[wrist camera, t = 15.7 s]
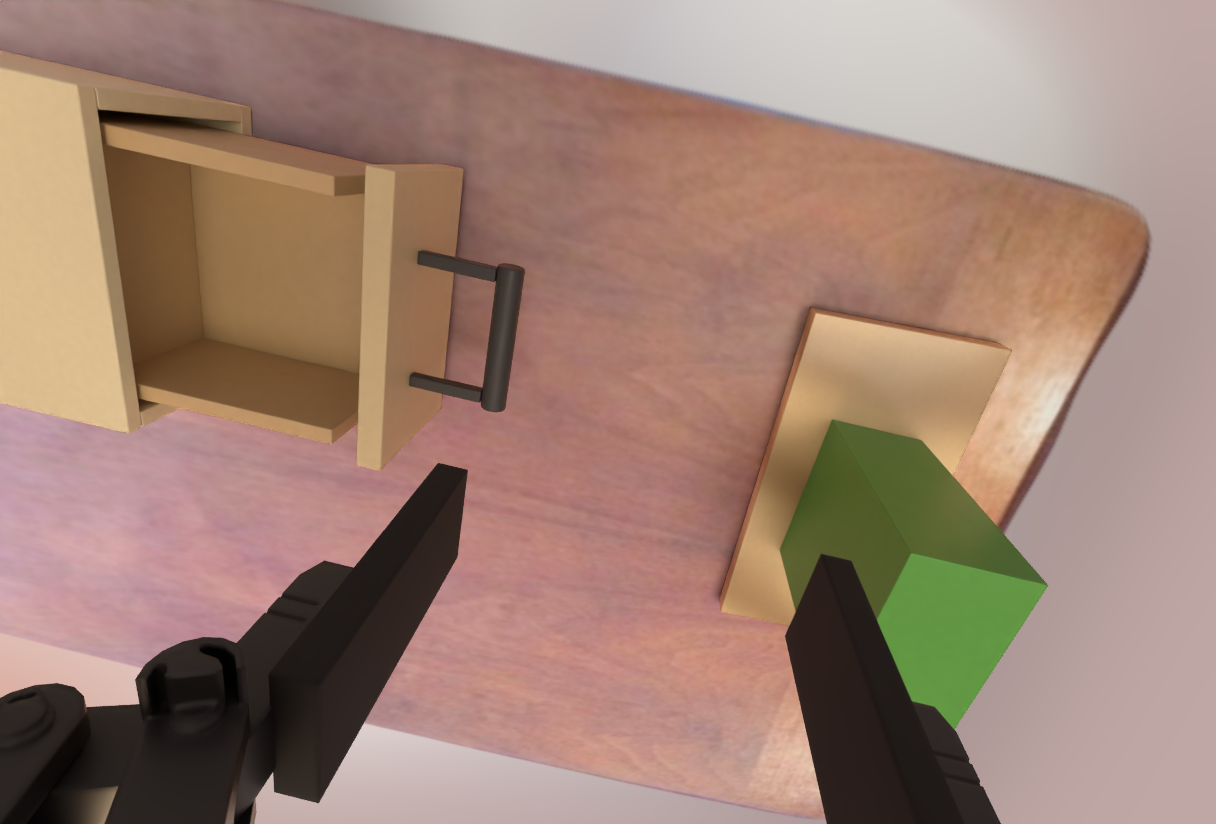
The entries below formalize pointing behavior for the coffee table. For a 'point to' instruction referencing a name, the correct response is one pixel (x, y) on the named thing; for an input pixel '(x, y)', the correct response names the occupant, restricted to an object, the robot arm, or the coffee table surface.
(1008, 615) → the tall green block
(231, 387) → the drawer
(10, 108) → the cabinet
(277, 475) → the coffee table surface
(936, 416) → the board
